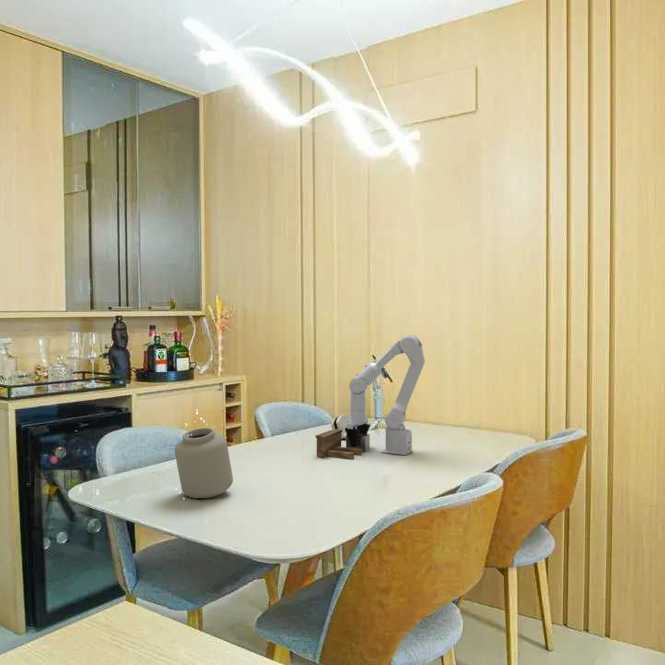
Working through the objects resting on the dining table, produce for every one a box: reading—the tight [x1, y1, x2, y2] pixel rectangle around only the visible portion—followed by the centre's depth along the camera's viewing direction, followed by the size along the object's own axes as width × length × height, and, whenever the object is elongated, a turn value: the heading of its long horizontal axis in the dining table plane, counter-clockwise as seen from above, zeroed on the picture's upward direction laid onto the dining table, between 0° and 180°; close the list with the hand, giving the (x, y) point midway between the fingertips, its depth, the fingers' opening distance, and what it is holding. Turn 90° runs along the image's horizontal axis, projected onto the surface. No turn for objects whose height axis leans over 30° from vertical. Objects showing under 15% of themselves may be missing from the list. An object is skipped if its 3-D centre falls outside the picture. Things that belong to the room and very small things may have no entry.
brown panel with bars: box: [315, 428, 363, 460], centre depth 241 cm, size 13×15×8 cm
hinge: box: [330, 414, 350, 440], centre depth 276 cm, size 17×5×10 cm, turn 162°
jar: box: [174, 409, 234, 500], centre depth 189 cm, size 19×15×25 cm
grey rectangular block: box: [345, 433, 371, 453], centre depth 250 cm, size 8×4×6 cm, turn 63°
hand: (357, 444), depth 250 cm, fingers open, 7 cm apart
